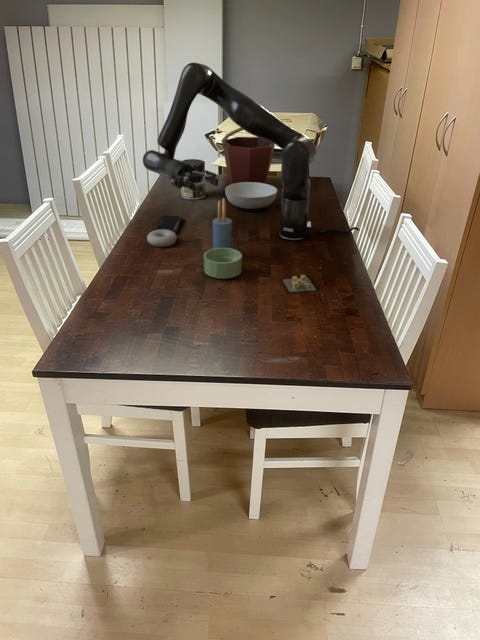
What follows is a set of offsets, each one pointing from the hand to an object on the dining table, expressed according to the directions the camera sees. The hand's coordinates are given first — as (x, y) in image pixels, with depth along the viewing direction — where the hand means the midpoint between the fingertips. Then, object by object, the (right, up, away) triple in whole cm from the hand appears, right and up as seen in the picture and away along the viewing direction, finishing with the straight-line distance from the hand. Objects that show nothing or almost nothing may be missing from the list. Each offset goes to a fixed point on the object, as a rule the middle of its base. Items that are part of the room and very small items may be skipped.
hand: (205, 184), depth 162 cm
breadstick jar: (+5, -22, +4) cm, 23 cm away
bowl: (+6, -28, -6) cm, 29 cm away
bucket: (+15, +18, +71) cm, 74 cm away
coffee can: (-9, +10, +56) cm, 57 cm away
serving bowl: (+15, +4, +46) cm, 49 cm away
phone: (-15, -9, +25) cm, 31 cm away
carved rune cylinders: (+28, -32, -12) cm, 44 cm away
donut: (-15, -17, +13) cm, 26 cm away
